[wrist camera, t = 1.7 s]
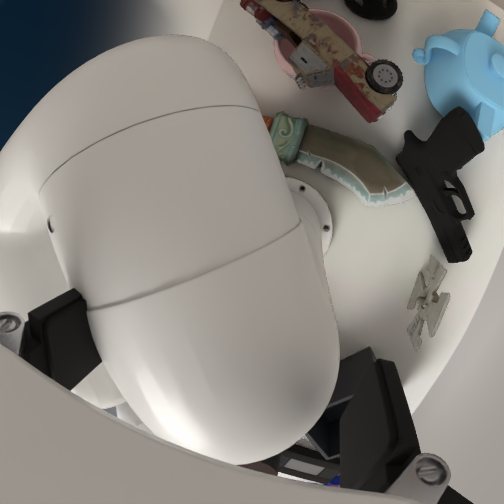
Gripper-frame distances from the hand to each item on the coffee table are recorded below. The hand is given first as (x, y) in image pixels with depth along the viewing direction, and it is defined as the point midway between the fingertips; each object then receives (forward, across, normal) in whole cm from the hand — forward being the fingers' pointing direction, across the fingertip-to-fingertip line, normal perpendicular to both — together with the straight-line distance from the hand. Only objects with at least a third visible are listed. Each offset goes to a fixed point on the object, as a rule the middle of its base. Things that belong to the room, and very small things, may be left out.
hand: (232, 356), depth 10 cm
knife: (+28, -14, -7) cm, 32 cm away
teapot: (+29, -18, -25) cm, 42 cm away
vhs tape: (+29, -15, +42) cm, 53 cm away
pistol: (+18, -19, -12) cm, 29 cm away
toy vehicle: (+20, -1, -22) cm, 29 cm away
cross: (+30, -18, +4) cm, 35 cm away
